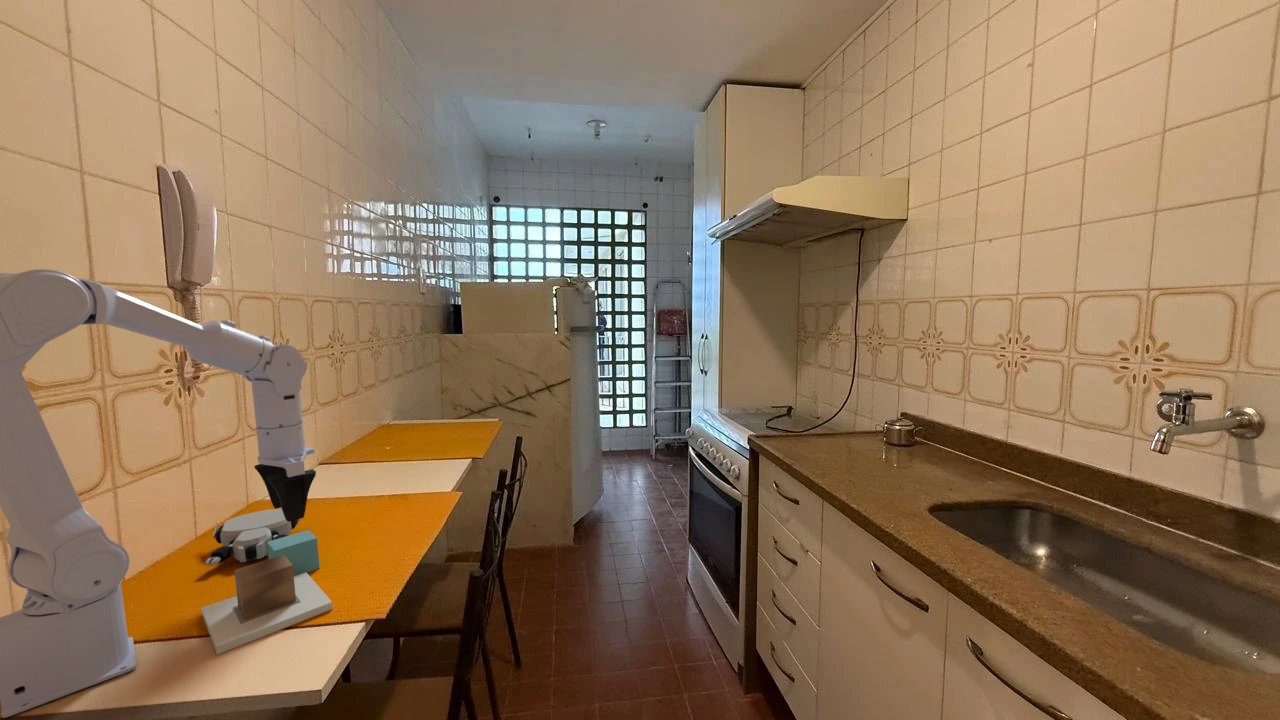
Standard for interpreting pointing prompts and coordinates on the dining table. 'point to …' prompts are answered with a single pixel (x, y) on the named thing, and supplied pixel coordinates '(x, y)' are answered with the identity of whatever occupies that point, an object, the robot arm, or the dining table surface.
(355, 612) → the dining table surface
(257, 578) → the walnut brick
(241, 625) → the build plate
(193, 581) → the dining table surface
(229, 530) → the robot toy
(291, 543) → the teal brick
